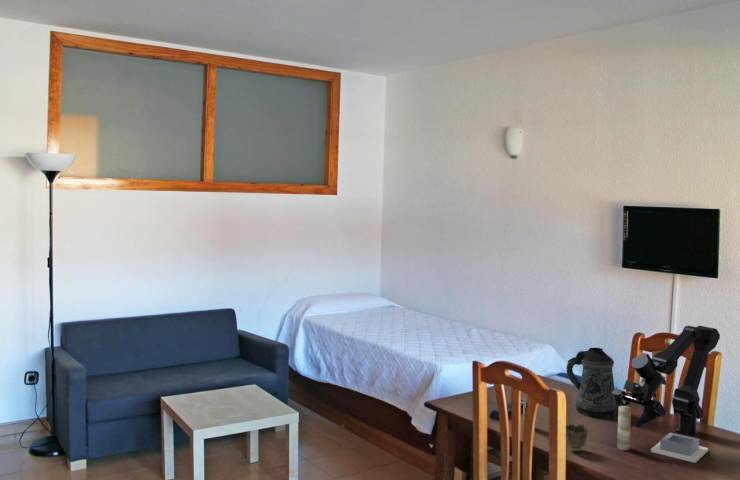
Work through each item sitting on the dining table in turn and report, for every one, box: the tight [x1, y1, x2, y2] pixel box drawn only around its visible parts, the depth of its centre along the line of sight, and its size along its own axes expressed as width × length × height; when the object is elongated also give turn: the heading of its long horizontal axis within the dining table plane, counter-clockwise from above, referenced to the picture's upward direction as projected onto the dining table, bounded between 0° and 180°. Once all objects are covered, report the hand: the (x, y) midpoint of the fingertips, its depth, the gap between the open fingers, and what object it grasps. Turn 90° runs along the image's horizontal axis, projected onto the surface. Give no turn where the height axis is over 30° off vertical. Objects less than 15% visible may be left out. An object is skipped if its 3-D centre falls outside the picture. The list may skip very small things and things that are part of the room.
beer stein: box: [565, 347, 616, 419], centre depth 272 cm, size 16×19×25 cm
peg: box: [616, 405, 632, 451], centre depth 233 cm, size 4×4×14 cm
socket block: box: [650, 432, 709, 464], centre depth 231 cm, size 14×14×4 cm
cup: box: [565, 423, 589, 453], centre depth 231 cm, size 8×7×8 cm
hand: (625, 422), depth 233 cm, fingers open, 9 cm apart
